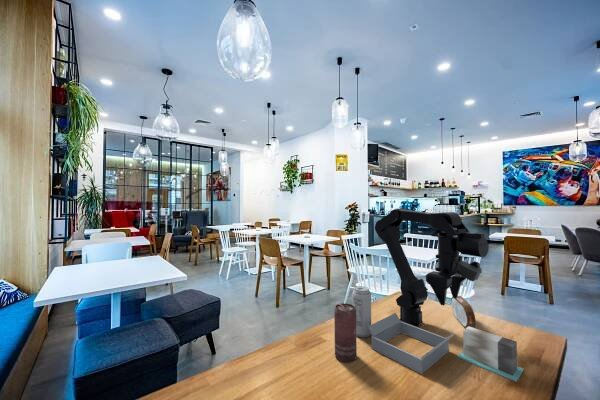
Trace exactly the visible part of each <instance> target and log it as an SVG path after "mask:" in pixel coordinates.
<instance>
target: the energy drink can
mask: <svg viewBox="0 0 600 400" xmlns="http://www.w3.org/2000/svg"><path fill="white" fill-rule="evenodd" d="M351 296H352V299H351V300H352V305H353V306H354V307H355V309H356V337H358V338H369V337H370V336H371V335H372V334H371V332H370V331H369V329H368V326H370V325H372V293H371V292H370V288H369V287H367V286H365V285H364V286H363V285H357V286H354V288H353V290H352V295H351Z"/></svg>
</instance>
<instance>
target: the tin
mask: <svg viewBox="0 0 600 400" xmlns="http://www.w3.org/2000/svg"><path fill="white" fill-rule="evenodd" d="M451 309H452V313H453V316H454V317H455V319H456V321H458V323H460V325H461V326H462V327H463V328H465V329H466V328H467V327H468V326H469V327H472V328H475V329H476V324H477V321H476V315H475V311H474V309H473V307H472V305H471V303H470V302H468V300H466V299H465V298H464V297H463V296H462V295H458V297H457V298H453V296H451Z"/></svg>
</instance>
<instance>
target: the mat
mask: <svg viewBox="0 0 600 400" xmlns="http://www.w3.org/2000/svg"><path fill="white" fill-rule="evenodd" d="M457 359H461V360H463V361H465V362H467V363H470V364H471V365H475V366H477V367H479V368H482V369H484V370H487V371H488V372H492V373H493V374H497V375H499V376H501V377H504V378H506V379H508V380H511V381H512V382H518V381H519V378H520V377H521V375H522V373H523V372H524V371H525V370H524V367H521V366H518V365H517V370H516V371H515V373H514V375H510V374H508V373H505V372H503V371H500V370H498V369H495V368H493V367H490V366H488V365H485V364H483V363H480V362H478V361H475V360H473V359H470V358H468V357H465V356H464V352H463V351H462V352H460V353H459V354H458V355H457Z"/></svg>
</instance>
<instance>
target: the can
mask: <svg viewBox="0 0 600 400" xmlns="http://www.w3.org/2000/svg"><path fill="white" fill-rule="evenodd" d="M333 313H334V317H333V318H334V321H333V322H334V323H333V325H334V356H335V357H336V359H337V360H339V361H340V362H344V363H350V362H353V361H354V360H356V359H357V354H358V353H357V352H358V351H357V336H356V309H355V307H354V306H353V304H350V303H337V304H336V305H335V307H334V312H333Z"/></svg>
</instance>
